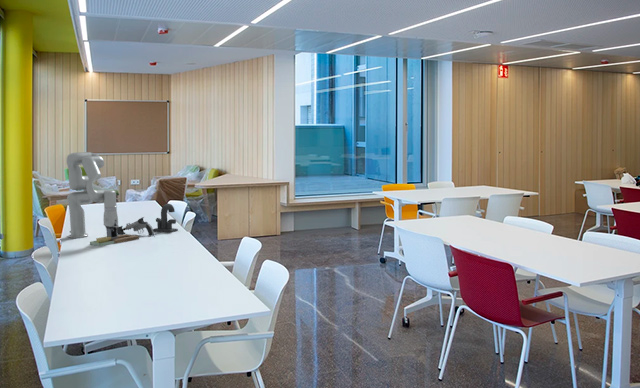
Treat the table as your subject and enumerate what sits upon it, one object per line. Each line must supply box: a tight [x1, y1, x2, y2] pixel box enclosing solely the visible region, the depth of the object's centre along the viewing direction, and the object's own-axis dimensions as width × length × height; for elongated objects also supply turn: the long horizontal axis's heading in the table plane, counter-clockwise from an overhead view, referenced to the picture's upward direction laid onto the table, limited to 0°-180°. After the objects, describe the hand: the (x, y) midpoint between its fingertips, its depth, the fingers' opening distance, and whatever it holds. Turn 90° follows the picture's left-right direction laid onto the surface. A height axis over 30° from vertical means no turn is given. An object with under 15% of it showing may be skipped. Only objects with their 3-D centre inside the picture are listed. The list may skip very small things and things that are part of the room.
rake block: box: [105, 225, 119, 241], centre depth 370 cm, size 4×5×11 cm
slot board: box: [112, 233, 140, 244], centre depth 376 cm, size 14×18×2 cm
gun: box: [117, 216, 155, 237], centre depth 397 cm, size 5×27×15 cm, turn 77°
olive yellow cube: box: [102, 235, 111, 242], centre depth 367 cm, size 4×4×4 cm
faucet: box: [153, 203, 179, 234], centre depth 414 cm, size 18×16×20 cm
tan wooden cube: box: [95, 236, 106, 243], centre depth 363 cm, size 4×4×4 cm
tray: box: [89, 240, 116, 247], centre depth 364 cm, size 11×11×2 cm
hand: (111, 236), depth 370 cm, fingers closed on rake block, 4 cm apart
